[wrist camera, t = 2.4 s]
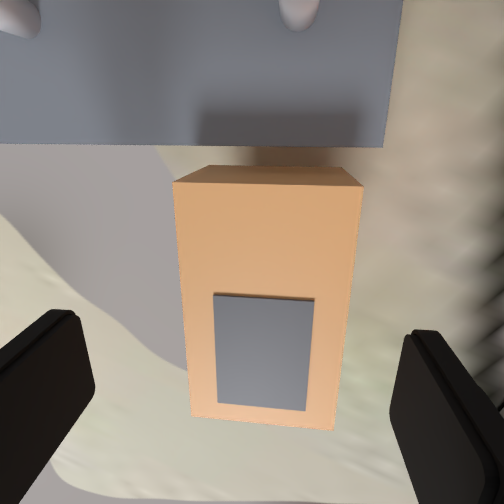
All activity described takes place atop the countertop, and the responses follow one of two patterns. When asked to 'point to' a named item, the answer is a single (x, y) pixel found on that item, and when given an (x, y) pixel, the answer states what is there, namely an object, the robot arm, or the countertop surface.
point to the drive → (266, 289)
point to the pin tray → (197, 72)
